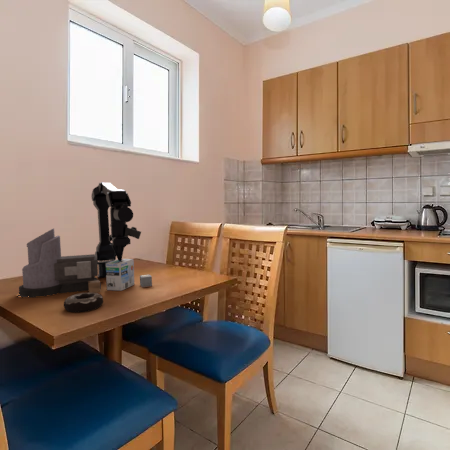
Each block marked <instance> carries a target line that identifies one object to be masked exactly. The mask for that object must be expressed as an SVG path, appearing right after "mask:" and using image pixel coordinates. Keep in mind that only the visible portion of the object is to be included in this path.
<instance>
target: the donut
mask: <svg viewBox="0 0 450 450" xmlns="http://www.w3.org/2000/svg"><path fill="white" fill-rule="evenodd" d="M103 303H104V298H103V295H102V294H100V293H93V292H89V291H87V292H80V293H75V294H72V295H70V296H67V298H66V299H64V301H63V307H64V309H65V310H66V311H67V312H70V313H85V312H91V311H95V310H96V309H99V307H102V304H103Z"/></svg>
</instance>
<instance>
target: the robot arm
mask: <svg viewBox="0 0 450 450" xmlns="http://www.w3.org/2000/svg"><path fill="white" fill-rule="evenodd" d="M91 202H93V203H92V204H93V206H94V207H95V209H96V210H97V221H98V224H97V226H98V238H99V242H98V244H97V246H96V249H95V250H96V251H95V252H94V254H95V257H97V267H98V276H97V277H98V278H97V279H102V278H106V263H108V262H111V261H114V260H117V259H118V261H121V260H122V259H123V254H124V250H125V247H126V246H128V245H131V238H130V237H132V238H135V239H137V240H139V239H140V237H141V234H142V231H140V230H138V229H137V227H135V226H131V228H130V227H129V225H128V224H127V223H128V222H131V221H132V220H133V217H134V212H133V210H132V209H131V208H130V207H131V206H132V201H131V199H130V196H129V193H128V192H127V190H125V189H119V188H117V187H116V186H114V185H113V183H112V182H110V181H108V182H103V181H101V182H98V185H97V186H96V187H94V188H93V189H92V192H91ZM109 214H110V220H109ZM109 222H110V223H109ZM116 258H117V259H116Z"/></svg>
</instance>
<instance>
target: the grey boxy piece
mask: <svg viewBox="0 0 450 450" xmlns="http://www.w3.org/2000/svg"><path fill="white" fill-rule="evenodd" d="M26 247H27V261H28V264H26V265H24V266H23V267H22V269H21V271H22V284H21V285H20V286H19V287H18V293H19V294H20V295H18V296H21V297H28V296H29V297H28V298H37V297H36V296H44V297H48V296H47V295H50V296H54V295H53V294H55V295H58V294H57V293H59V294H67V292H69V293H74V292H75V293H76V292H77V291H78V292H85V291H87V292H89V287H88V281H95V280H99V278H97V277H98V274H99V267H98V265H97V257H95V253H93V254H92V253H91V254H80V255H79V254H78V255H65V256H62V249H61V247H62V246H61V236H60V235H57V236H56V235H55V228H51V229H50V230H48V231H46V232H44V233H43V234H40V235H39V236H37V237H35V238H34V239H32V240H30V241H28V242H27V243H26ZM101 288H102V282H101V281H100V290H102V289H101Z"/></svg>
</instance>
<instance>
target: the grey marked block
mask: <svg viewBox="0 0 450 450" xmlns="http://www.w3.org/2000/svg"><path fill="white" fill-rule="evenodd" d="M152 279H153V276H152V275H151V274H144V275H143V274H142V275H139V284H140V286H141V287H142V288H147V287H153V280H152Z"/></svg>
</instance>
